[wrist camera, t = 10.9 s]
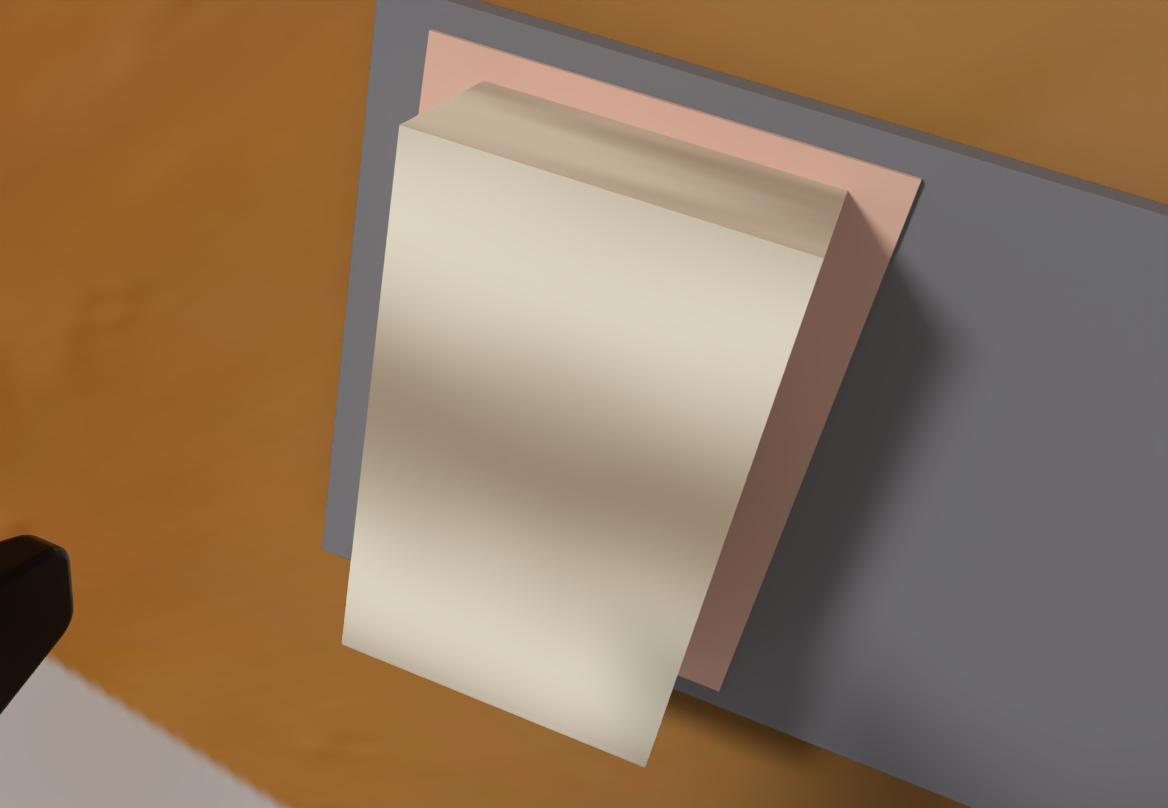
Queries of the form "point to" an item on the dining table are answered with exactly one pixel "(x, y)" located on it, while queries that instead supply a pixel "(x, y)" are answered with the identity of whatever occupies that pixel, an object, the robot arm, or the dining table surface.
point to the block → (567, 402)
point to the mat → (887, 429)
